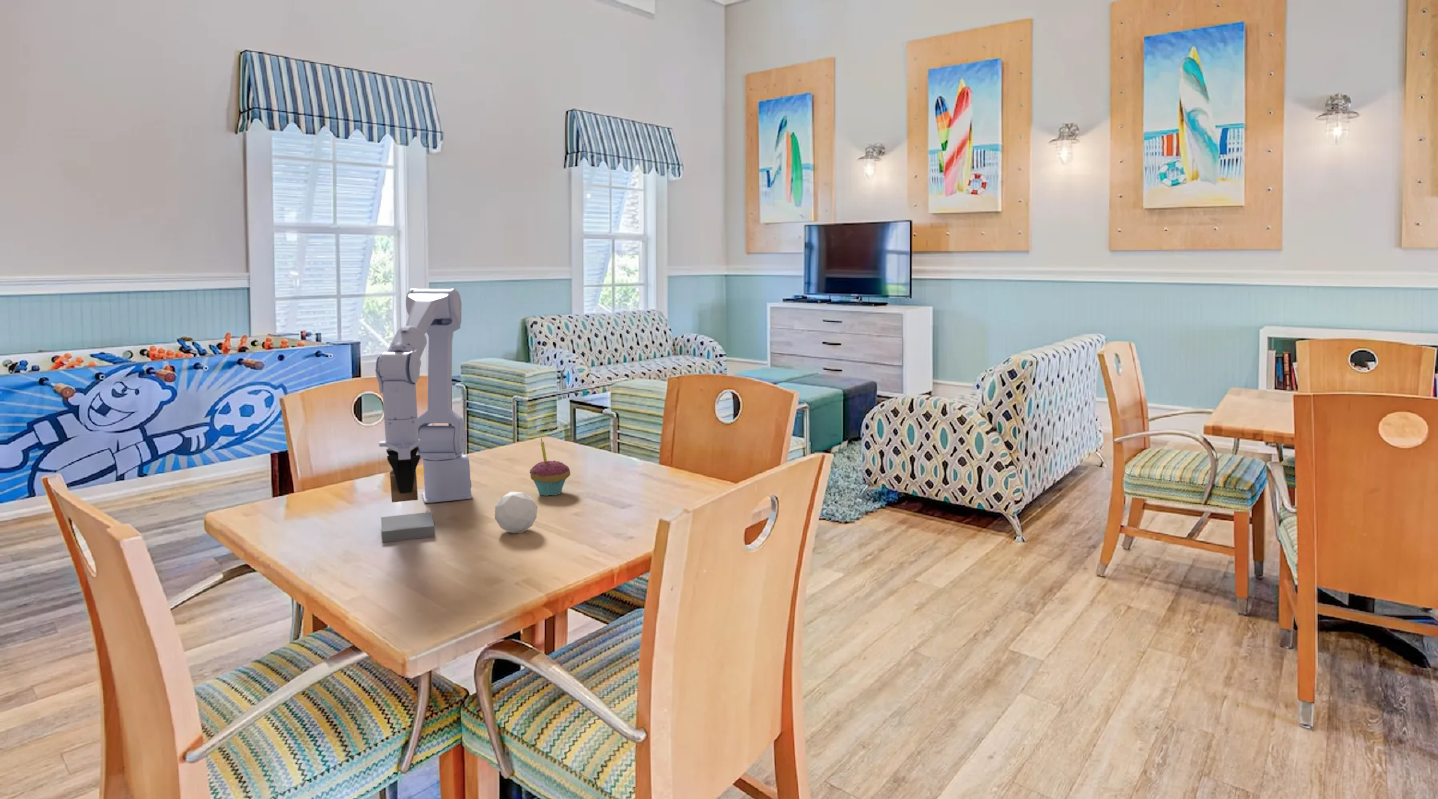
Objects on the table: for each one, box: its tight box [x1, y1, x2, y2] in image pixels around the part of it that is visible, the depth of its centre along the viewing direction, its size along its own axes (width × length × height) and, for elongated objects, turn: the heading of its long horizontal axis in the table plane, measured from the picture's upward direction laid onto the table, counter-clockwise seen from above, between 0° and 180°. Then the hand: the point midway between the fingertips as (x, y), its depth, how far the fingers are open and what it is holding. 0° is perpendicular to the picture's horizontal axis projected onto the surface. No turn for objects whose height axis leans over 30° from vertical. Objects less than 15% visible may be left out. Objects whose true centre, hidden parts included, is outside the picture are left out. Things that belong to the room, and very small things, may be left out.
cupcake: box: [529, 438, 571, 497], centre depth 185 cm, size 9×8×12 cm
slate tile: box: [380, 511, 436, 543], centre depth 160 cm, size 9×9×2 cm
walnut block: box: [389, 469, 419, 503], centre depth 159 cm, size 4×4×5 cm
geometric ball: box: [494, 491, 538, 534], centre depth 161 cm, size 8×8×8 cm
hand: (405, 488), depth 159 cm, fingers closed on walnut block, 4 cm apart
